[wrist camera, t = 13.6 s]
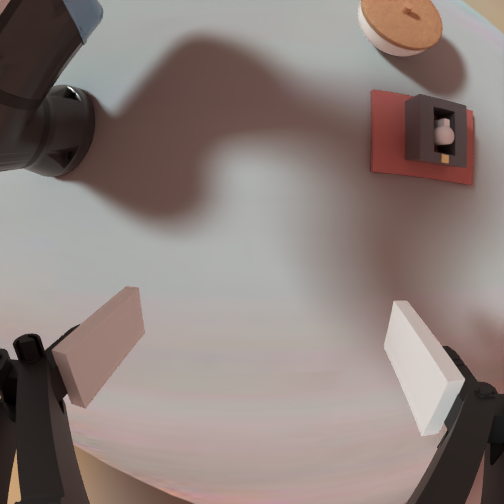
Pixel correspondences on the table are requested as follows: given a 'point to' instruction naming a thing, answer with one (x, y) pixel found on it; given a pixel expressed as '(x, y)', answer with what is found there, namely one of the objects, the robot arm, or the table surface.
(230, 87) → the table surface
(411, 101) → the hollow frame block
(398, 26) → the lidded jar
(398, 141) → the plate
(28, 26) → the robot arm
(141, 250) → the table surface
